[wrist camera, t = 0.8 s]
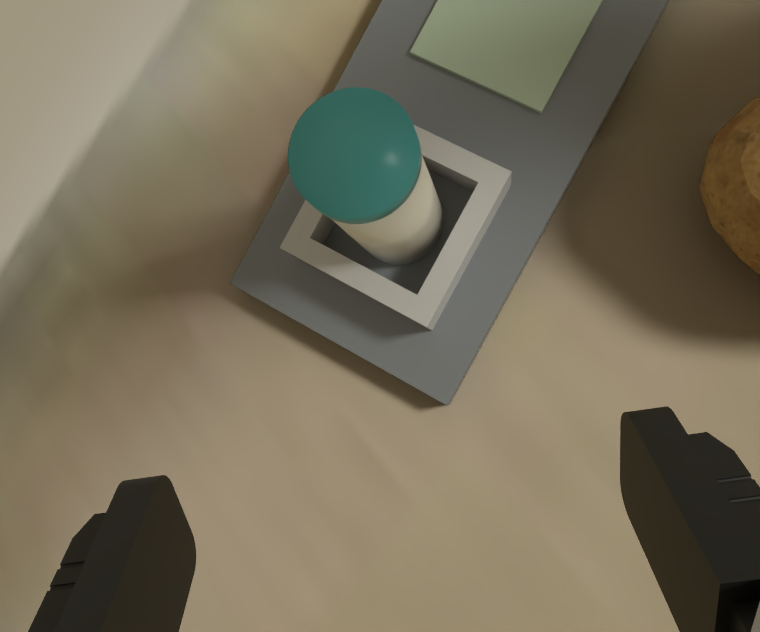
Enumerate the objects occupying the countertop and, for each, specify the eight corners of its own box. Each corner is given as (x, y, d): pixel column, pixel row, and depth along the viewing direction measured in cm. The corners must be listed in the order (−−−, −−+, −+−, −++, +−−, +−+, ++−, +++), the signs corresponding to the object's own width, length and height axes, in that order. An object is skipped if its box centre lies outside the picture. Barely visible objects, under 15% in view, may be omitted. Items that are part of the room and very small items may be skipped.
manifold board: (451, -107, 41) (445, -158, 37) (678, -16, 38) (698, -62, 34) (239, 286, 41) (211, 277, 37) (449, 404, 38) (442, 407, 34)
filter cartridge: (382, 161, 38) (327, 66, 27) (462, 200, 37) (441, 120, 26) (339, 240, 38) (264, 181, 27) (418, 282, 38) (377, 240, 26)
